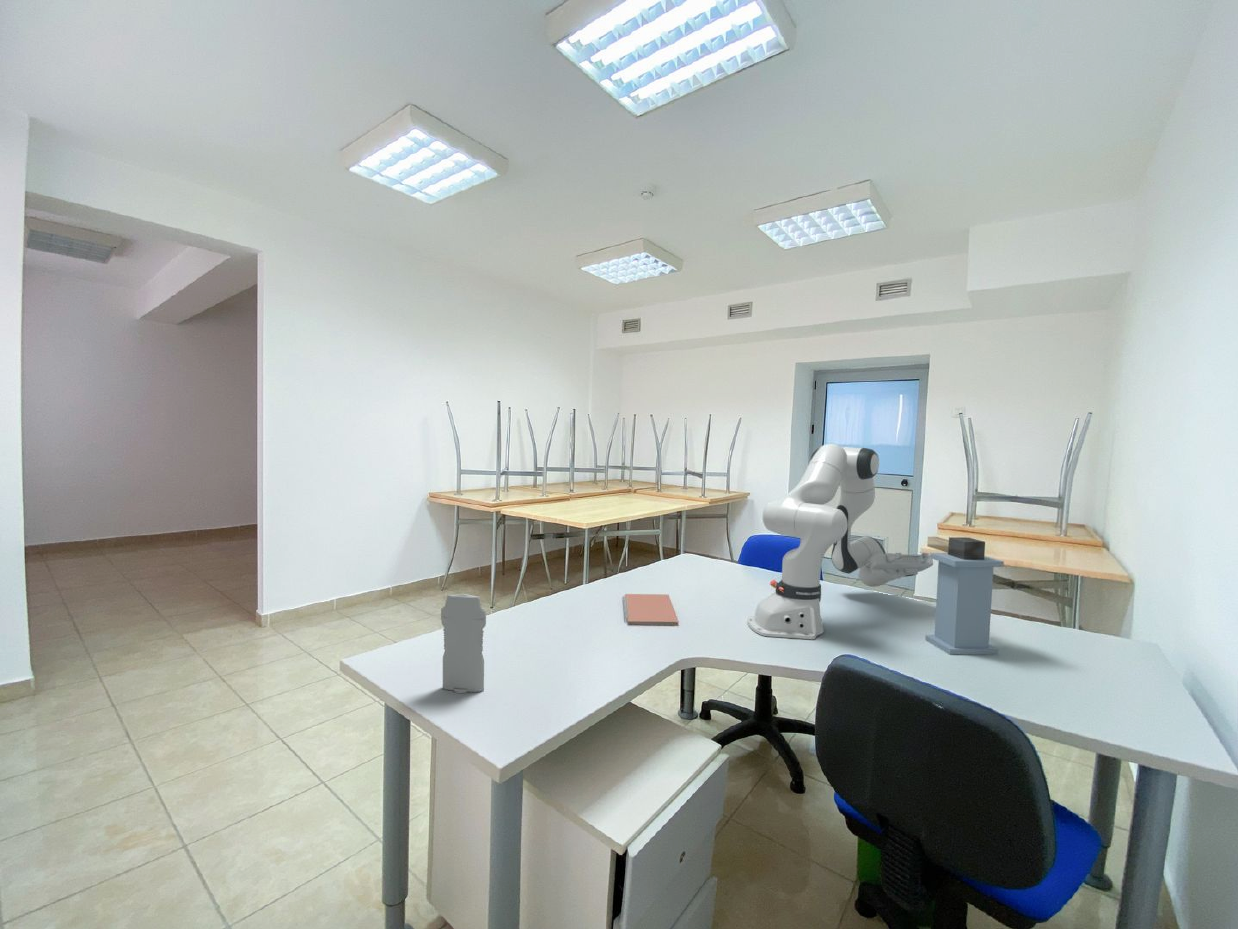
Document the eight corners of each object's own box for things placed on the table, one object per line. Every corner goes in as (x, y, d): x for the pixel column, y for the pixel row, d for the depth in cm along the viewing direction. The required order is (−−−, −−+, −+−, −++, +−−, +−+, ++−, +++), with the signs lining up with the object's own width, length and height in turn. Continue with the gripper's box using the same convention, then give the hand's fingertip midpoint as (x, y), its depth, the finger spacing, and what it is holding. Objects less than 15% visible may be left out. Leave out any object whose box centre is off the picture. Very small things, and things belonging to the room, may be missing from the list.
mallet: (963, 559, 139) (964, 541, 139) (922, 546, 156) (923, 530, 156) (984, 559, 139) (985, 541, 139) (941, 546, 156) (942, 530, 156)
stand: (949, 654, 138) (955, 561, 137) (925, 640, 148) (930, 552, 147) (998, 654, 139) (1003, 561, 138) (970, 639, 149) (975, 553, 148)
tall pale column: (489, 686, 116) (489, 592, 114) (482, 695, 112) (482, 597, 110) (445, 682, 117) (445, 589, 116) (436, 691, 113) (436, 595, 112)
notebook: (622, 598, 182) (622, 593, 182) (668, 599, 183) (668, 593, 182) (624, 626, 155) (624, 620, 155) (678, 627, 155) (678, 621, 155)
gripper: (859, 557, 178) (880, 545, 166) (915, 557, 179) (939, 546, 167) (864, 575, 175) (885, 564, 163) (920, 575, 176) (945, 564, 164)
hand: (913, 555), depth 165 cm, fingers open, 8 cm apart
